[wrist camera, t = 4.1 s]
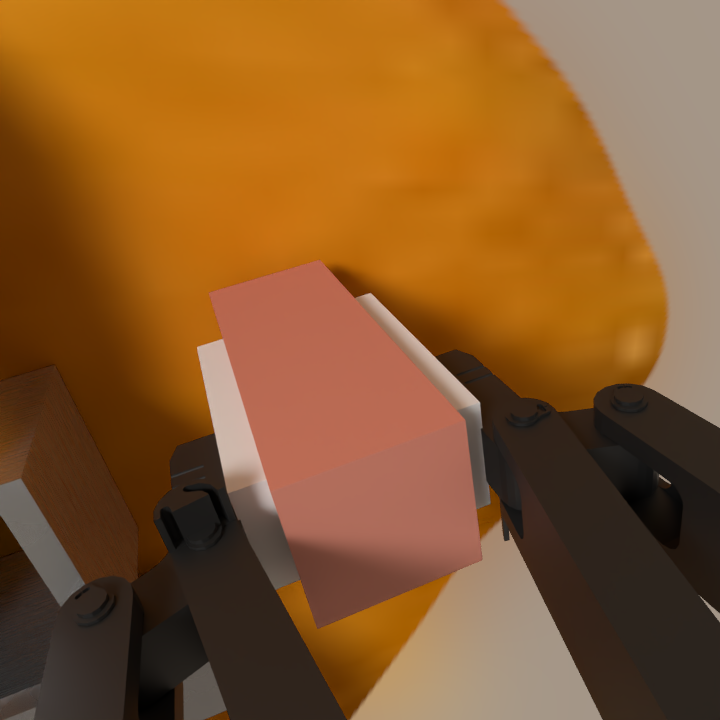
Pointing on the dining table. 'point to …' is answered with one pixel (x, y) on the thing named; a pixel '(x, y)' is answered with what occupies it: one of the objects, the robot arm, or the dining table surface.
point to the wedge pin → (348, 442)
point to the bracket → (51, 525)
